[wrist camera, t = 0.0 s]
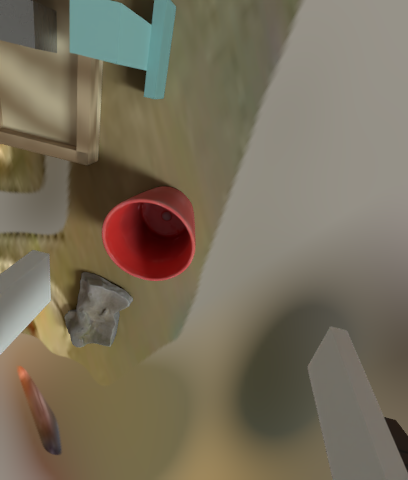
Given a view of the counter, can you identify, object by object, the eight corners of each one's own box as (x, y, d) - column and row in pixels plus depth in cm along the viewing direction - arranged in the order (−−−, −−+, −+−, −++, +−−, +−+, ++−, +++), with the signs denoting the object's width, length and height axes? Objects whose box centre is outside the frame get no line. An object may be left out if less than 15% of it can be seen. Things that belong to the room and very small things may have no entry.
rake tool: (176, 7, 31) (140, -37, 21) (163, 98, 36) (128, 101, 25) (129, -5, 32) (69, -54, 21) (121, 88, 36) (69, 86, 25)
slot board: (-25, -86, 30) (-51, -103, 27) (108, -54, 30) (95, -68, 27) (-1, 135, 40) (-19, 138, 38) (98, 160, 40) (87, 165, 37)
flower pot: (183, 257, 45) (169, 296, 37) (119, 222, 44) (89, 254, 35) (219, 201, 41) (211, 231, 32) (148, 160, 39) (121, 179, 31)
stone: (84, 264, 49) (71, 278, 45) (138, 288, 50) (129, 303, 46) (65, 322, 55) (52, 339, 52) (112, 343, 56) (103, 360, 53)
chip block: (21, 2, 32) (-7, -9, 29) (56, 10, 32) (32, 0, 29) (23, 45, 34) (-3, 39, 30) (57, 53, 34) (35, 48, 30)
